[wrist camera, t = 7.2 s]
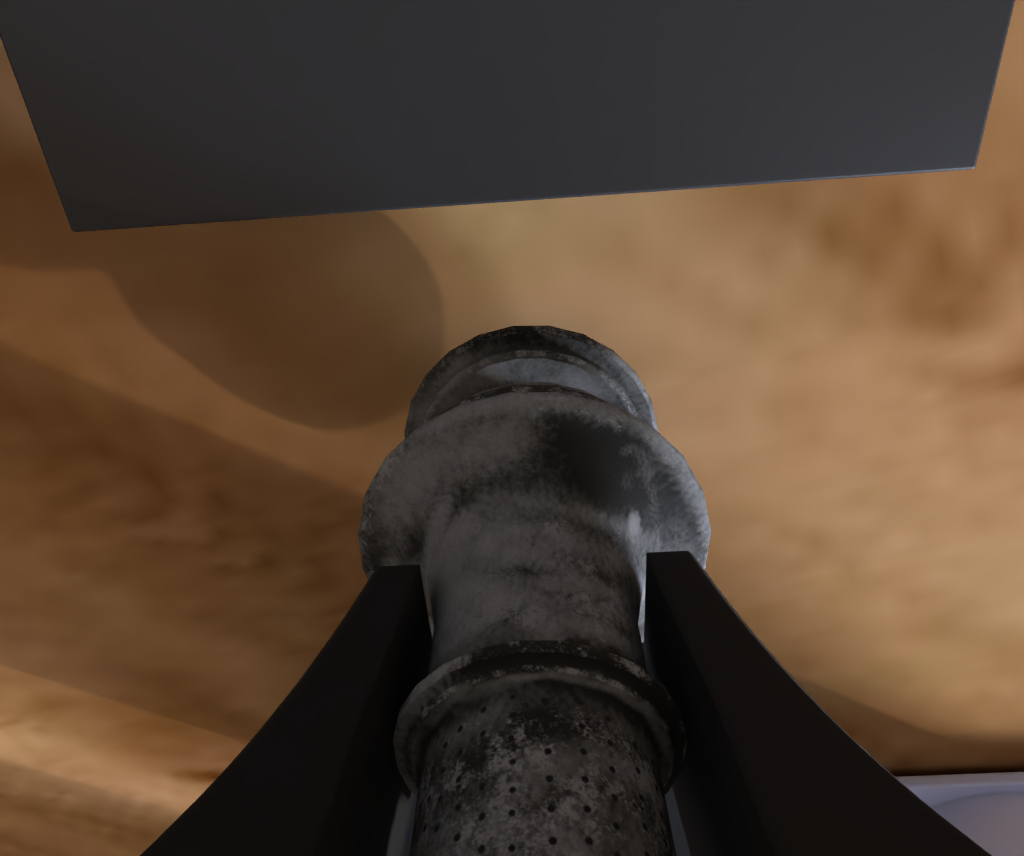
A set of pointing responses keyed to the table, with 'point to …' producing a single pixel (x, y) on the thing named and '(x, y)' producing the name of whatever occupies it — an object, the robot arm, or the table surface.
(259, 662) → the table surface
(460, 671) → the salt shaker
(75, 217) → the console
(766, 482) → the table surface
